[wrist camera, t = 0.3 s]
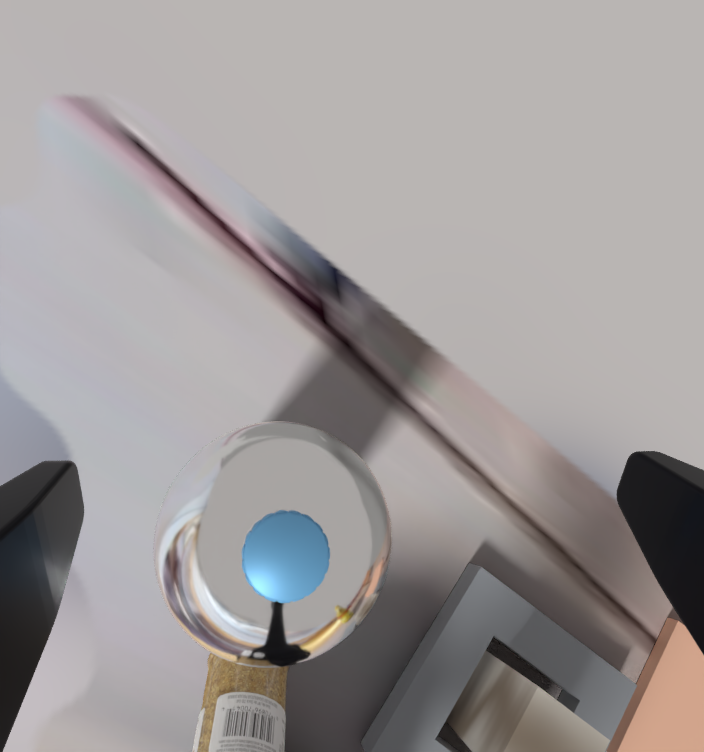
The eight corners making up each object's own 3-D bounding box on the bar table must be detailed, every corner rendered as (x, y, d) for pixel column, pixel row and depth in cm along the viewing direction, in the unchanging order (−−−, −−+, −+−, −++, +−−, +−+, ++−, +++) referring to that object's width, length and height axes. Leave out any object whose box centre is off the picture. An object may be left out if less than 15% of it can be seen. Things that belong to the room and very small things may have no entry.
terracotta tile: (721, 837, 36) (734, 847, 35) (605, 750, 36) (614, 757, 35) (775, 699, 39) (788, 705, 38) (667, 617, 39) (678, 620, 38)
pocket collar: (524, 865, 34) (541, 888, 32) (360, 742, 34) (366, 757, 32) (617, 675, 37) (637, 685, 35) (469, 562, 37) (481, 566, 35)
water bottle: (312, 456, 37) (429, 392, 13) (316, 561, 35) (456, 715, 11) (208, 461, 35) (118, 399, 11) (209, 570, 34) (106, 764, 10)
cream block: (506, 765, 35) (567, 831, 28) (445, 719, 35) (491, 775, 28) (543, 693, 36) (610, 740, 29) (484, 649, 36) (538, 686, 29)
